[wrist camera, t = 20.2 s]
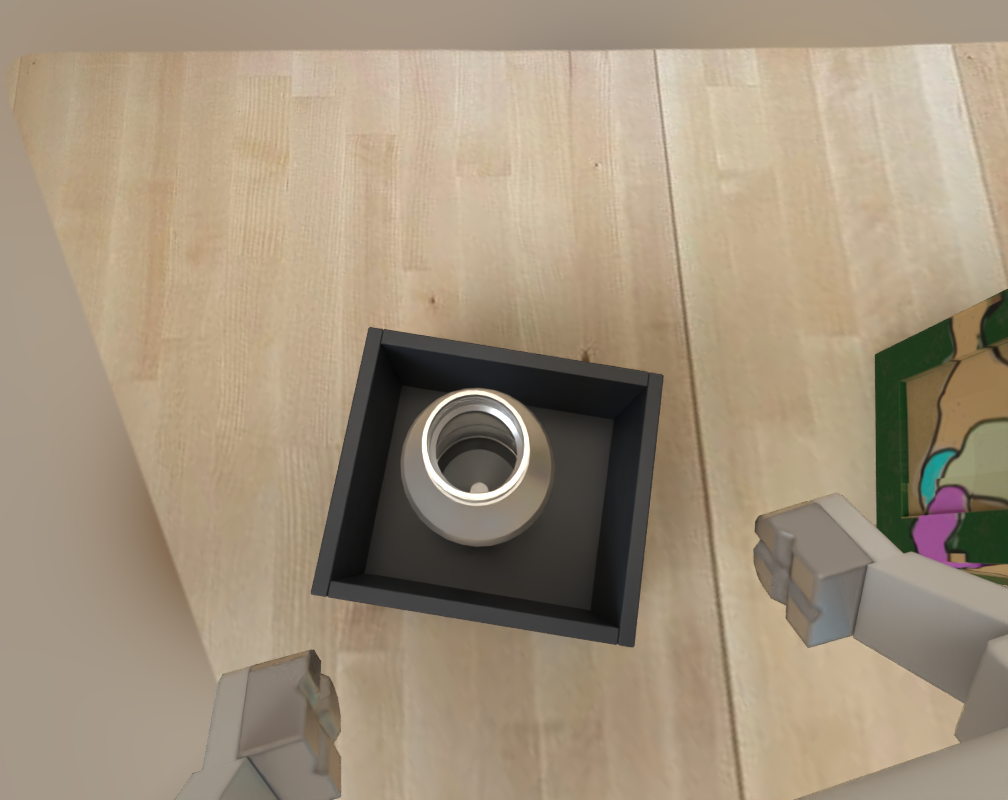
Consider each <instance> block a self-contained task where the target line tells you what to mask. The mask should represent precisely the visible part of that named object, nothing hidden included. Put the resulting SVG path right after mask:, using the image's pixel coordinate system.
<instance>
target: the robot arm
mask: <svg viewBox="0 0 1008 800" xmlns="http://www.w3.org/2000/svg"><path fill="white" fill-rule="evenodd" d="M755 533H756V534H757V535H758V536H759V538H760V539H761V540H760V541H759V542H758V544H757V545H756V547H755V548H754V565H755V569H756V572H757V576H758V578H759V580H760V582H761V584H762V586H763V587H764V589H765V590H766V592H767V593H768V595H769V596H770V597H771V599H774V600H776V601H778V602H780V603H782V604H784V605H786V619H787V621H788V622H789V623H790V625H791V626H792V627H793V629H794V630H795V631H796V633H797V634H798V635H799V637H800V638H801V639H802V641H803V642H804V644H805V645H806V646H807V648H810V647H814V646H817V645H821V644H824V643H828V642H831V641H835V640H838V639H842V638H845V637H849V636H852V635H854V636H853V638H854V639H856V640H858V641H860V642H861V643H863V644H865V645H866V646H868V647H870V648H871V649H873V650H875V651H876V652H878V653H880V654H882V655H883V656H885V657H887V658H888V659H890V660H892V661H893V662H895V663H897V664H898V665H900V666H902V667H904V668H905V669H907V670H909V671H910V672H912V673H914V674H915V675H917V676H919V677H920V678H922V679H924V680H925V681H927V682H929V683H931V684H932V685H934V686H936V687H937V688H939V689H941V690H942V691H944V692H946V693H947V694H949V695H951V696H953V697H954V698H956V699H958V700H959V701H961V702H963V703H964V706H963V709H962V711H961V714H960V717H959V719H958V722H957V725H956V729H955V735H954V736H955V737H956V738H957V739H958V740H959V742H960V743H959V744H956V745H953V746H950V747H947V748H944V749H941V750H938V751H935V752H932V753H930V754H927V755H924V756H921V757H918V758H915V759H912V760H909V761H906V762H903V763H900V764H897V765H894V766H891V767H888V768H885V769H883V770H880V771H877V772H874V773H871V774H868V775H865V776H862V777H859V778H856V779H853V780H850V781H847V782H844V783H841V784H838V785H835V786H833V787H830V788H827V789H824V790H821V791H818V792H815V793H812V794H809V795H806V796H803V797H800V798H797V799H794V800H1008V588H1007V587H1004V586H1001V585H999V584H996V583H993V582H991V581H988V580H985V579H983V578H980V577H977V576H975V575H972V574H970V573H967V572H964V571H962V570H959V569H956V568H954V567H951V566H948V565H946V564H943V563H940V562H938V561H935V560H932V559H930V558H927V557H925V556H922V555H919V554H917V553H914V552H908V553H904V554H903V553H902V552H901V551H900V550H899V549H898V548H897V547H896V546H895V545H894V544H893V543H892V542H891V541H890V540H889V539H888V538H887V537H886V536H885V535H884V534H883V533H881V532H880V531H879V530H878V529H877V528H876V527H875V526H874V525H873V524H872V523H871V522H870V521H869V520H868V519H867V518H866V517H865V516H864V515H863V514H862V513H861V512H860V511H858V510H857V509H856V508H855V507H854V506H853V505H852V504H851V503H850V502H849V501H848V500H847V499H846V498H845V497H844V496H843V495H840V494H838V493H834V494H830V495H827V496H824V497H820V498H817V499H814V500H810V501H805V502H802V503H799V504H796V505H792V506H789V507H786V508H783V509H780V510H776V511H773V512H770V513H767V514H764V515H760V516H759V517H758V518H757V520H756V521H755ZM340 732H341V716H340V709H339V703H338V697H337V694H336V691H335V688H334V685H333V683H332V681H331V679H330V677H329V676H326V675H324V674H321V660H320V659H319V657H318V655H317V654H316V652H315V650H308V651H305V652H301V653H297V654H294V655H290V656H286V657H282V658H279V659H275V660H271V661H268V662H264V663H260V664H256V665H253V666H250V667H246V668H243V669H239V670H236V671H232V672H228V673H225V674H223V675H222V677H221V679H220V680H219V682H218V684H217V689H216V695H215V701H214V707H213V712H212V717H211V723H210V729H209V734H208V740H207V745H206V751H205V757H204V763H203V768H202V771H199V772H195V773H193V774H192V776H191V777H190V778H189V780H188V781H187V782H186V784H185V785H184V786H183V788H182V789H181V791H180V792H179V794H178V795H177V796H176V798H175V799H174V800H334V799H337V798H339V797H341V756H340V755H339V753H338V751H337V749H336V747H335V746H334V742H335V741H336V739H337V737H338V736H339V734H340Z"/></svg>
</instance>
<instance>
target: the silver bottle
mask: <svg viewBox="0 0 1008 800" xmlns="http://www.w3.org/2000/svg"><path fill="white" fill-rule="evenodd" d="M554 473H555V464H554V454H553V450H552V447H551V443H550V440H549V437H548V435H547V434H546V432H545V430H544V428H543V426H542V424H541V423H540V422H539V420H538V419H537V418H536V416H535V415H534V414H533V413H532V412H531V411H530V410H529V409H528V408H527V407H526V406H524V405H523V404H522V403H521V402H519V401H518V400H516V399H514V398H512V397H511V396H509V395H507V394H504V393H501V392H498V391H495V390H490V389H483V388H468V389H462V390H458V391H454V392H450V393H448V394H446V395H444V396H442V397H440V398H438V399H436V400H435V401H434V402H432V403H431V404H430V405H428V406H427V407H426V408H425V409H424V410H423V411H422V412H421V413H420V414H419V415H418V417H417V418H416V419H415V420H414V422H413V424H412V426H411V427H410V429H409V431H408V433H407V436H406V438H405V441H404V444H403V448H402V455H401V478H402V482H403V486H404V490H405V494H406V496H407V498H408V500H409V502H410V505H411V507H412V508H413V510H414V511H415V512H416V514H417V515H418V517H419V518H420V519H421V520H422V521H423V522H424V523H425V524H426V525H427V526H428V527H429V528H430V529H431V530H432V531H434V532H435V533H437V534H439V535H440V536H442V537H444V538H445V539H447V540H450V541H453V542H456V543H458V544H462V545H468V546H475V547H479V546H493V545H496V544H500V543H503V542H507V541H509V540H511V539H513V538H514V537H516V536H518V535H520V534H521V533H523V532H524V531H525V530H526V529H528V528H529V527H530V526H531V525H532V524H533V523H534V522H535V521H536V519H537V518H538V517H539V516H540V515H541V513H542V512H543V510H544V508H545V506H546V504H547V502H548V500H549V498H550V494H551V491H552V488H553V484H554Z"/></svg>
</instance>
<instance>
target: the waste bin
mask: <svg viewBox="0 0 1008 800" xmlns="http://www.w3.org/2000/svg"><path fill="white" fill-rule="evenodd" d="M663 377H664V376H663V375H662V374H656V373H649V372H646V371H640V370H633V369H627V368H621V367H615V366H609V365H602V364H596V363H590V362H584V361H578V360H572V359H565V358H559V357H553V356H547V355H541V354H535V353H528V352H522V351H516V350H510V349H504V348H497V347H491V346H485V345H479V344H473V343H467V342H460V341H454V340H448V339H442V338H436V337H430V336H423V335H417V334H411V333H405V332H399V331H392V330H386V329H384V330H383V329H379V328H372V327H369V329H368V333H367V338H366V342H365V347H364V352H363V356H362V361H361V365H360V370H359V374H358V379H357V384H356V388H355V393H354V397H353V402H352V407H351V411H350V416H349V420H348V425H347V429H346V434H345V439H344V443H343V448H342V452H341V457H340V462H339V466H338V471H337V475H336V480H335V484H334V489H333V494H332V498H331V503H330V507H329V512H328V517H327V521H326V526H325V530H324V535H323V539H322V544H321V549H320V553H319V558H318V562H317V567H316V571H315V576H314V581H313V585H312V590H311V594H312V595H318V596H324V597H326V596H328V597H330V598H336V599H342V600H348V601H354V602H360V603H366V604H372V605H378V606H384V607H390V608H396V609H402V610H408V611H414V612H420V613H427V614H433V615H439V616H445V617H451V618H457V619H463V620H469V621H475V622H481V623H487V624H493V625H499V626H505V627H511V628H517V629H523V630H529V631H535V632H541V633H547V634H554V635H560V636H566V637H572V638H578V639H584V640H590V641H596V642H602V643H608V644H614V645H616V644H618V645H620V646H626V647H634V645H635V635H636V626H637V617H638V608H639V598H640V589H641V580H642V571H643V562H644V552H645V543H646V534H647V525H648V515H649V506H650V497H651V488H652V479H653V469H654V460H655V451H656V442H657V432H658V423H659V414H660V405H661V396H662V386H663ZM468 388H483V389H490V390H495V391H498V392H501V393H504V394H507V395H509V396H511V397H512V398H514V399H516V400H518V401H519V402H521V403H522V404H523V405H524V406H526V407H527V408H528V409H529V410H530V411H531V412H532V413H533V414H534V415H535V416H536V418H537V419H538V420H539V422H540V423H541V424H542V426H543V428H544V430H545V432H546V434H547V435H548V437H549V440H550V443H551V447H552V450H553V454H554V464H555V473H554V484H553V488H552V491H551V494H550V498H549V500H548V502H547V504H546V506H545V508H544V510H543V512H542V513H541V515H540V516H539V517H538V518H537V519H536V521H535V522H534V523H533V524H532V525H531V526H530V527H529V528H528V529H526V530H525V531H524V532H523V533H521V534H520V535H518V536H516V537H514V538H513V539H511V540H509V541H507V542H503V543H500V544H496V545H493V546H479V547H475V546H468V545H462V544H458V543H456V542H453V541H450V540H447V539H445V538H444V537H442V536H440V535H439V534H437V533H435V532H434V531H432V530H431V529H430V528H429V527H428V526H427V525H426V524H425V523H424V522H423V521H422V520H421V519H420V518H419V517H418V515H417V514H416V512H415V511H414V510H413V508H412V507H411V505H410V502H409V500H408V498H407V496H406V494H405V490H404V486H403V482H402V478H401V455H402V448H403V444H404V441H405V438H406V436H407V433H408V431H409V429H410V427H411V426H412V424H413V422H414V420H415V419H416V418H417V417H418V415H419V414H420V413H421V412H422V411H423V410H424V409H425V408H426V407H427V406H428V405H430V404H431V403H432V402H434V401H435V400H436V399H438V398H440V397H442V396H444V395H446V394H448V393H450V392H454V391H458V390H462V389H468Z"/></svg>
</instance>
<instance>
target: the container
mask: <svg viewBox="0 0 1008 800" xmlns="http://www.w3.org/2000/svg"><path fill="white" fill-rule="evenodd" d="M875 392H876V488H877V529H878V530H879V531H880V532H881V533H883V534H884V535H885V536H886V537H887V538H888V539H889V540H890V541H891V542H892V543H893V544H894V545H895V546H896V547H897V548H898V549H899V550H900V551H901V552H902V553H903V554H904V553H908V552H914V553H917V554H919V555H922V556H925V557H927V558H930V559H932V560H935V561H938V562H940V563H943V564H946V565H948V566H951V567H954V568H956V569H959V570H962V571H964V572H967V573H970V574H972V575H975V576H977V577H980V578H983V579H985V580H988V581H991V582H993V583H996V584H1002V585H1008V289H1006V290H1004V291H1002V292H1000V293H998V294H996V295H994V296H992V297H990V298H988V299H986V300H984V301H982V302H980V303H978V304H976V305H974V306H972V307H970V308H968V309H966V310H964V311H962V312H960V313H958V314H956V315H954V316H952V317H950V318H948V319H946V320H944V321H942V322H940V323H938V324H936V325H934V326H932V327H930V328H928V329H926V330H924V331H922V332H920V333H918V334H916V335H914V336H912V337H910V338H908V339H906V340H904V341H902V342H900V343H898V344H896V345H894V346H892V347H890V348H887V349H885V350H883V351H881V352H879V353H877V354H875Z"/></svg>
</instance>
